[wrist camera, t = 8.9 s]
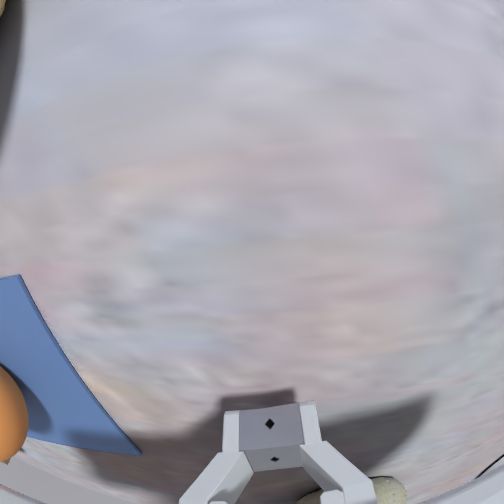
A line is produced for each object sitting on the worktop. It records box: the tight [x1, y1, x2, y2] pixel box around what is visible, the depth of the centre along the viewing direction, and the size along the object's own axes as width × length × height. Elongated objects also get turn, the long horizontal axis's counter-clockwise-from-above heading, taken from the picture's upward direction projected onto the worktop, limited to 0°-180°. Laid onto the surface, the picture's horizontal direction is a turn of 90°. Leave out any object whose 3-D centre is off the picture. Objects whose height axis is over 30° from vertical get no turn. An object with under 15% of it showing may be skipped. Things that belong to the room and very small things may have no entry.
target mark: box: [0, 274, 142, 456], centre depth 12 cm, size 12×12×1 cm
